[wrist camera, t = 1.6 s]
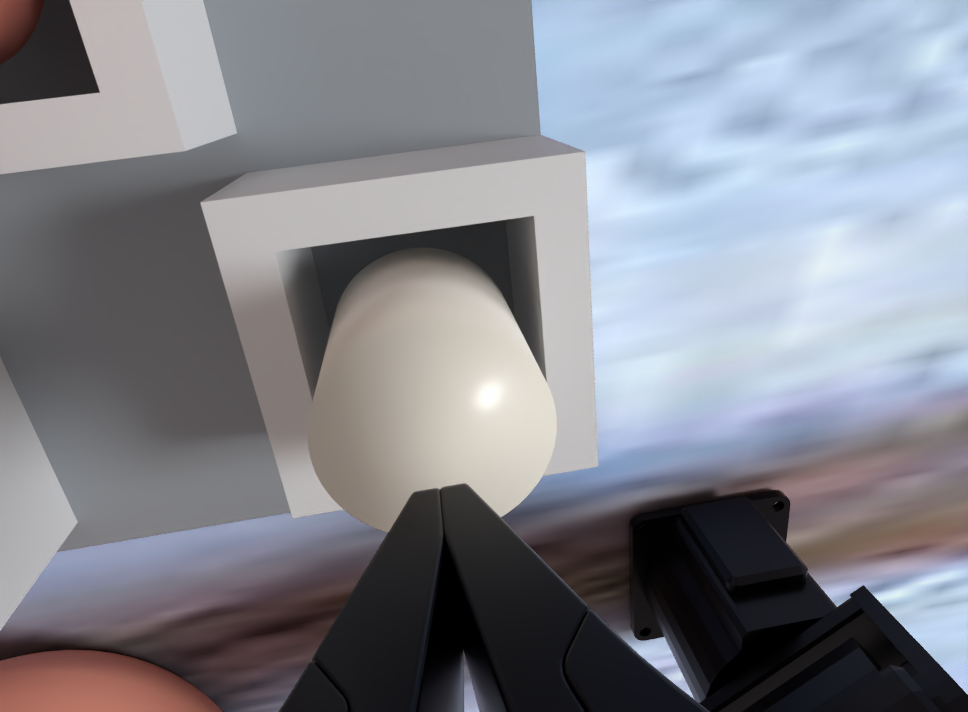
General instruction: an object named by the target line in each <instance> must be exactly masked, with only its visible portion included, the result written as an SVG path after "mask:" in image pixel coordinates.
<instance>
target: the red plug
mask: <svg viewBox="0 0 968 712" xmlns="http://www.w3.org/2000/svg"><path fill="white" fill-rule="evenodd" d="M43 4H44V0H0V65H1V64H3V63H4V62H6V61H8V60H9V59H10V58H11V57H13V56H14V55H15V54H17V53H18V52H19V51H20V49H21V48H22V47H23V46H24V45H25V44H26V43H27V41H28V40H29V38H30V37H31V35H32V33H33V32H34V30H35V28H36V26H37V23H38V21H39V18H40V16H41V12H42V8H43Z"/></svg>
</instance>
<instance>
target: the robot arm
mask: <svg viewBox="0 0 968 712" xmlns="http://www.w3.org/2000/svg"><path fill="white" fill-rule="evenodd" d="M776 502H777V503H776ZM775 503H776V504H775ZM773 504H775V505H773ZM789 511H790V500H789V499H788V498H787V497H786V496H785V495H784V494H783V492H781V491H779V490H773V491H767V492H761V493H756V494H750V495H744V496H739V497H733V498H727V499H722V500H716V501H710V502H704V503H699V504H693V505H687V506H682V507H676V508H670V509H665V510H659V511H653V512H648V513H642V514H639V515H636V516H635V517H633V518H632V520H631V521H630V524H629V546H630V601H631V628H632V631H633V633H634V636H635V638H637V639H638V640H650V639H655V638H660V637H665V639H666V641H667V643H668V645H669V647H670V649H671V651H672V653H673V655H674V657H675V660H676V662H677V664H678V666H679V668H680V670H681V672H682V674H683V676H684V678H685V680H686V682H687V684H688V686H689V688H690V690H691V693H692V695H693V697H694V699H695V700H694V699H693V698H692V697H690V696H689V695H688V694H687V693H685V692H684V691H683V690H681V689H680V688H679V687H678V686H676V685H675V684H674V683H673V682H671V681H670V680H669V679H668V678H667V677H665V676H664V675H663V674H662V673H660V672H659V671H658V670H657V669H656V668H654V667H653V666H652V665H651V664H650V663H648V662H647V661H646V660H645V659H644V658H642V657H641V656H640V655H639V654H638V653H637V652H636V651H634V650H633V649H632V648H631V647H630V646H629V645H628V644H627V643H626V642H625V641H624V640H623V639H622V638H621V637H620V636H619V635H617V634H616V633H615V632H614V631H613V630H612V629H611V628H610V627H609V626H608V625H607V624H606V623H605V622H604V621H603V620H602V619H601V618H600V617H599V616H598V615H597V614H596V613H595V612H594V611H593V610H590V607H589V606H588V605H587V604H586V603H585V602H584V601H583V600H582V599H581V598H580V597H579V596H578V595H577V594H576V593H575V592H574V591H573V590H572V589H571V588H570V587H569V586H568V585H567V584H566V583H565V582H564V581H563V580H562V579H561V578H560V577H559V576H558V575H557V574H556V573H555V572H554V571H553V570H552V569H551V568H550V567H549V566H548V565H547V564H546V563H545V562H544V561H543V560H542V558H541V557H540V556H539V555H538V554H537V553H536V552H535V551H534V550H533V549H532V548H531V547H530V546H529V545H528V544H527V543H526V542H525V541H524V540H523V539H522V538H521V537H520V536H519V535H518V534H517V533H516V532H515V531H514V530H513V529H512V528H511V527H510V526H509V525H508V524H507V523H506V522H505V521H504V520H503V519H502V518H501V517H500V516H499V515H498V514H497V513H496V512H495V511H494V510H493V509H492V508H491V507H490V506H489V505H488V504H487V503H486V502H485V501H484V500H483V499H482V498H481V497H480V496H479V495H478V494H477V493H476V492H475V491H474V490H473V489H472V488H471V487H470V486H469V485H468V484H466V483H462V484H456V485H450V486H445V487H442V488H441V489H439V488H433V489H427V490H421V491H415V492H414V493H412V494H411V496H410V497H409V499H408V501H407V502H406V504H405V506H404V507H403V509H402V511H401V512H400V514H399V516H398V517H397V519H396V521H395V522H394V524H393V526H392V527H391V529H390V531H389V532H388V534H387V536H386V537H385V539H384V540H383V542H382V544H381V545H380V547H379V549H378V550H377V552H376V554H375V555H374V557H373V559H372V560H371V562H370V564H369V565H368V567H367V569H366V570H365V572H364V574H363V575H362V577H361V579H360V580H359V582H358V583H357V585H356V587H355V588H354V590H353V592H352V593H351V595H350V597H349V598H348V600H347V602H346V603H345V605H344V607H343V608H342V610H341V612H340V613H339V615H338V617H337V618H336V620H335V622H334V623H333V625H332V626H331V628H330V630H329V631H328V633H327V635H326V636H325V638H324V640H323V641H322V643H321V645H320V646H319V648H318V650H317V651H316V653H315V655H314V656H313V658H312V662H311V663H309V664H308V666H307V667H306V669H305V671H304V672H303V674H302V676H301V677H300V679H299V681H298V682H297V684H296V685H295V687H294V689H293V690H292V692H291V693H290V695H289V696H288V698H287V700H286V701H285V703H284V704H283V706H282V707H281V709H280V710H279V712H464V655H463V650H464V654H465V658H466V662H467V666H468V670H469V673H470V677H471V681H472V685H473V689H474V692H475V696H476V700H477V704H478V707H479V711H480V712H968V695H967V694H966V693H965V692H964V691H963V689H962V688H961V687H960V686H959V685H958V684H957V683H956V682H955V681H954V680H953V679H952V678H951V677H950V676H949V674H948V673H947V672H946V671H945V670H944V669H943V668H942V667H941V666H940V665H939V664H938V663H937V662H936V661H935V660H934V659H933V658H932V657H931V656H930V654H929V653H928V652H927V651H926V650H925V649H924V648H923V647H922V646H921V645H920V644H919V643H918V642H917V641H916V640H915V639H914V638H913V637H912V636H911V635H910V634H909V632H908V631H907V630H906V629H905V628H904V627H903V626H902V625H901V624H900V623H899V622H898V621H897V620H896V619H895V618H894V617H893V616H892V615H891V614H890V613H889V612H888V610H887V609H886V608H885V607H884V606H883V605H882V604H881V603H880V602H879V601H878V600H877V599H876V598H875V597H874V596H873V595H872V594H871V593H870V592H869V591H868V590H867V589H866V587H865V586H864V585H863V586H862V587H860V588H859V589H857V590H856V591H854V592H853V593H851V594H850V596H851V598H850V599H848V600H847V601H845V602H844V603H843V604H841V605H840V606H838V607H836V605H835V604H834V603H833V602H832V601H831V599H830V598H829V597H828V596H827V595H826V594H825V592H824V591H823V590H822V589H821V588H820V586H819V585H818V584H817V583H816V582H815V580H814V579H813V578H812V577H811V576H810V574H809V573H808V569H807V567H806V565H805V564H804V563H803V562H802V561H801V559H800V558H799V557H798V556H797V555H796V554H795V552H794V551H793V550H792V549H791V548H790V546H789V545H788V544H787V543H786V538H787V529H788V520H789ZM644 525H647V526H646V527H645V528H642V529H639V528H640V527H641V526H644Z"/></svg>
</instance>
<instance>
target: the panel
mask: <svg viewBox="0 0 968 712" xmlns="http://www.w3.org/2000/svg"><path fill="white" fill-rule="evenodd" d="M420 247H424V248H437V249H442V250H447V251H450V252H453V253H456V254H459V255H461V256H463V257H465V258H467V259H469V260H471V261H472V262H474V263H475V264H477V265H478V266H479V267H481V268H482V269H483V270H484V271H485V272H486V273H487V274H488V275H489V276H490V277H491V278H492V279H493V280H494V282H495V283H496V285H497V286H498V288H499V289H500V291H501V293H502V295H503V297H504V299H505V301H506V303H507V305H508V307H509V309H510V311H511V313H512V314H513V316H514V318H515V320H516V322H517V324H518V326H519V328H520V330H521V332H522V334H523V336H524V338H525V340H526V342H527V344H528V346H529V348H530V350H531V352H532V354H533V356H534V358H535V360H536V362H537V364H538V366H539V368H540V370H541V372H542V374H543V376H544V378H545V380H546V382H547V384H548V386H549V389H550V391H551V394H552V397H553V400H554V404H555V409H556V416H557V434H556V440H555V446H554V450H553V453H552V457H551V460H550V462H549V464H548V466H547V468H546V471H545V473H544V474H543V476H545V475H551V474H557V473H563V472H569V471H575V470H581V469H587V468H592V467H598V447H597V423H596V399H595V375H594V351H593V327H592V303H591V279H590V255H589V231H588V207H587V183H586V159H585V151H582V150H580V149H577V148H574V147H572V146H569V145H566V144H564V143H561V142H558V141H556V140H553V139H550V138H548V137H545V136H542V135H541V134H540V120H539V105H538V91H537V76H536V62H535V47H534V33H533V18H532V4H531V0H44V4H43V8H42V12H41V16H40V18H39V21H38V23H37V26H36V28H35V30H34V32H33V33H32V35H31V37H30V38H29V40H28V41H27V43H26V44H25V45H24V46H23V47H22V48H21V49H20V51H19V52H18V53H17V54H15V55H14V56H13V57H11V58H10V59H9V60H8V61H6V62H4V63H3V64H1V65H0V630H1V629H2V628H3V626H4V625H5V623H6V622H7V621H8V619H9V618H10V616H11V615H12V614H13V612H14V611H15V609H16V608H17V607H18V605H19V604H20V602H21V601H22V600H23V598H24V597H25V595H26V594H27V593H28V591H29V590H30V588H31V587H32V586H33V584H34V583H35V581H36V580H37V579H38V577H39V576H40V574H41V573H42V572H43V570H44V569H45V567H46V566H47V565H48V563H49V562H50V560H51V559H52V558H53V556H54V555H55V553H56V552H59V551H65V550H71V549H77V548H83V547H89V546H95V545H101V544H107V543H113V542H119V541H125V540H130V539H136V538H142V537H148V536H154V535H160V534H166V533H172V532H178V531H184V530H190V529H196V528H201V527H207V526H213V525H219V524H225V523H231V522H237V521H243V520H249V519H255V518H261V517H267V516H273V515H278V514H284V513H290V512H291V515H292V518H298V517H303V516H309V515H315V514H321V513H327V512H333V511H339V510H344V509H343V508H341V507H340V506H339V505H338V504H337V503H336V502H335V501H334V500H333V499H332V498H331V497H330V495H329V494H328V493H327V491H326V490H325V489H324V487H323V486H322V484H321V482H320V481H319V479H318V477H317V475H316V473H315V471H314V468H313V465H312V462H311V459H310V454H309V449H308V439H307V428H308V420H309V414H310V410H311V406H312V402H313V398H314V394H315V390H316V386H317V382H318V378H319V374H320V370H321V367H322V363H323V359H324V355H325V351H326V347H327V343H328V339H329V335H330V331H331V327H332V323H333V319H334V315H335V312H336V308H337V305H338V302H339V300H340V298H341V296H342V294H343V292H344V290H345V289H346V287H347V286H348V284H349V283H350V282H351V281H352V279H353V278H354V277H355V276H356V275H357V274H358V273H359V272H360V271H361V270H362V269H363V268H365V267H366V266H367V265H369V264H370V263H372V262H373V261H375V260H377V259H379V258H381V257H383V256H385V255H387V254H390V253H393V252H396V251H399V250H404V249H409V248H420Z"/></svg>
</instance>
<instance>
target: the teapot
mask: <svg viewBox="0 0 968 712" xmlns="http://www.w3.org/2000/svg"><path fill="white" fill-rule="evenodd" d="M0 712H223V711H222V710H221V708H220V707H218V706H217V705H216V704H215V703H214V702H213V701H212V700H211V699H210V698H209V697H208V696H207V695H205V694H204V693H203V692H201V691H200V690H199V689H197V688H196V687H195V686H193V685H192V684H191V683H189V682H187V681H185V680H184V679H182V678H180V677H179V676H177V675H175V674H174V673H172V672H170V671H167V670H165V669H163V668H161V667H159V666H156V665H154V664H152V663H149V662H145V661H142V660H139V659H136V658H133V657H129V656H124V655H120V654H115V653H109V652H101V651H92V650H58V651H45V652H39V653H32V654H26V655H21V656H17V657H13V658H9V659H5V660H1V661H0Z"/></svg>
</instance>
